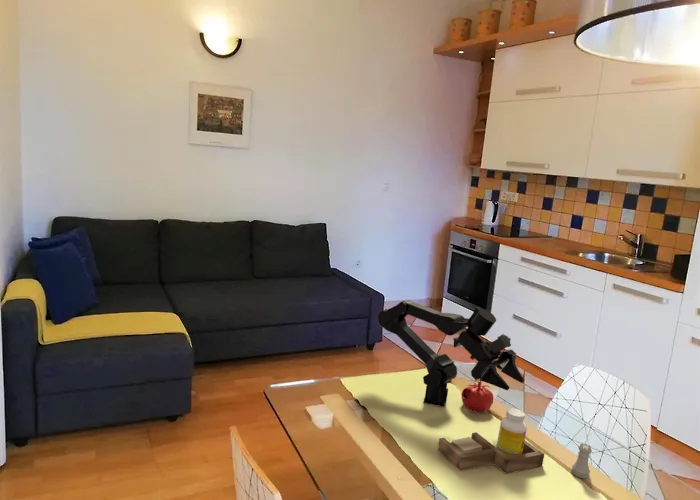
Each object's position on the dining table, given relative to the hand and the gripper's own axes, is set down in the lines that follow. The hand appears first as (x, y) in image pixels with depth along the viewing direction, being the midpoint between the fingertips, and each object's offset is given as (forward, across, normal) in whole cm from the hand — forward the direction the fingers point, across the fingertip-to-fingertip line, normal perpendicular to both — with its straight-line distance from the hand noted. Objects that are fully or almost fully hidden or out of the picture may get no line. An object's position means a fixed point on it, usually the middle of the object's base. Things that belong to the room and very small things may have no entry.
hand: (516, 385), depth 149 cm
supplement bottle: (+12, -11, +11) cm, 20 cm away
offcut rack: (+10, -16, +12) cm, 22 cm away
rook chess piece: (+26, -3, +4) cm, 27 cm away
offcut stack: (+6, -20, +15) cm, 26 cm away
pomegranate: (-6, +8, +21) cm, 23 cm away
